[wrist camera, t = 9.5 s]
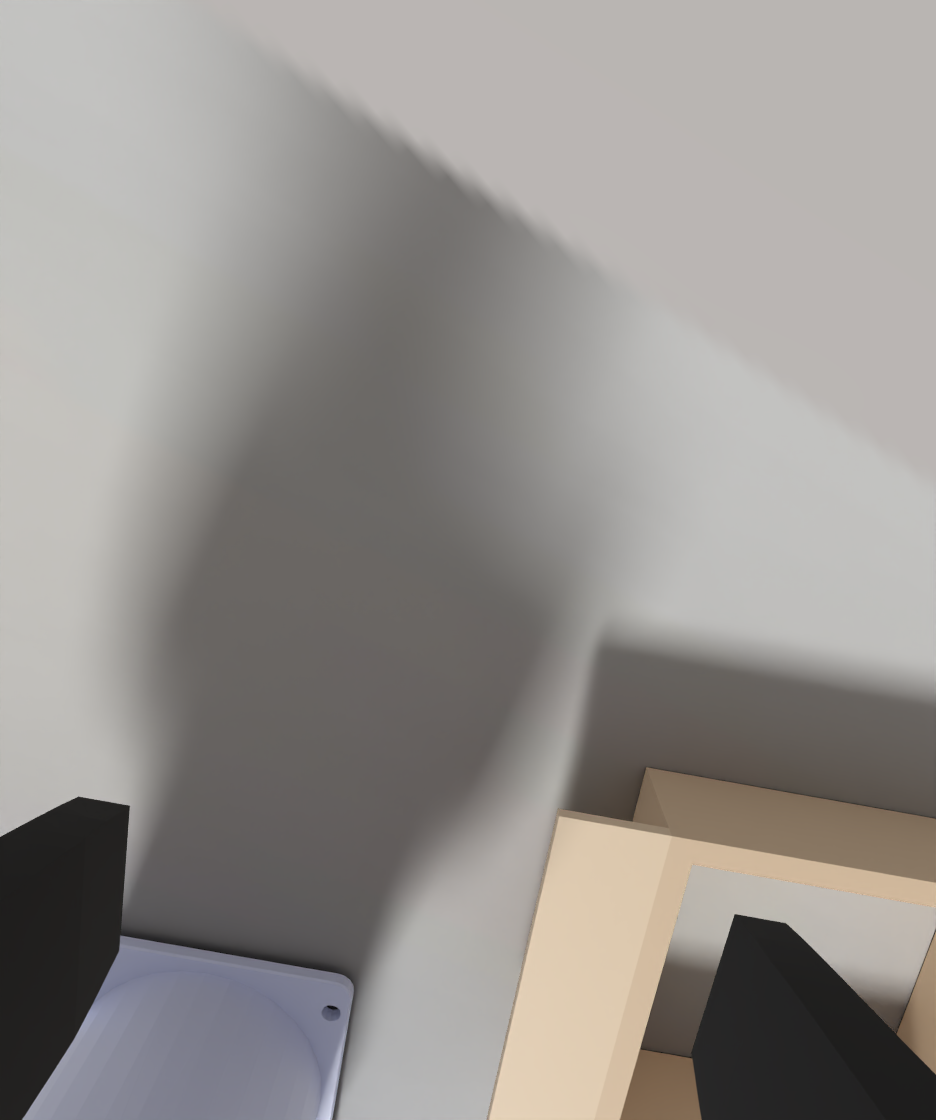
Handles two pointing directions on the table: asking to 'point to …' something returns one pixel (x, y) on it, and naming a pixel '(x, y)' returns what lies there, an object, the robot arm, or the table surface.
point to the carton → (647, 926)
